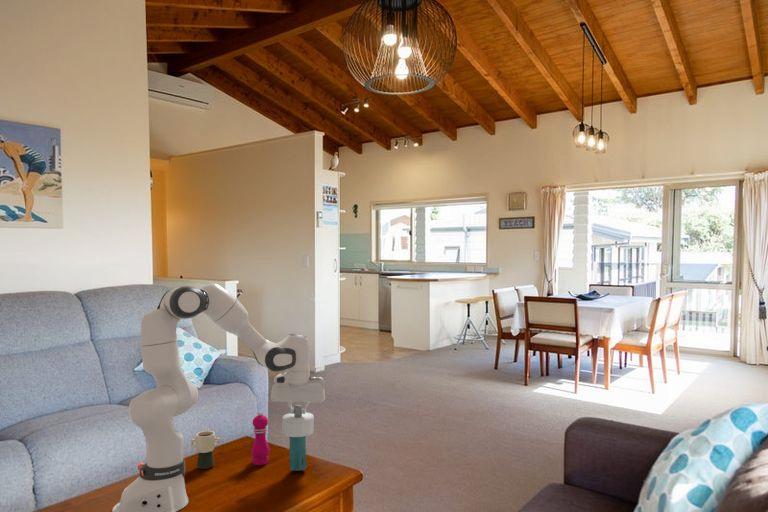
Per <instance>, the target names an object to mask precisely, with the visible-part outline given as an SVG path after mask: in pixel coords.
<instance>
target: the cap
mask: <svg viewBox="0 0 768 512" xmlns="http://www.w3.org/2000/svg"><path fill="white" fill-rule="evenodd" d="M293 406H294V407H293V408H294V414H290V412H289V413H286V414H284V415H283V416H282V425H281V427H282V429H281V430H282V431H281V432H282V433H281V434H282V435H283V436H285V437H288V438H290V437H303V436H306V437H307V436H311V435H312V434H313V433H314V431H315V429H314V427H315V426H314V425H315V422H314V419H315V418H314V416H315V415H314V414H313V413H311V412H307V411H306V414H301V409H302V408H303V405H302V404H296V405H293Z"/></svg>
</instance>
